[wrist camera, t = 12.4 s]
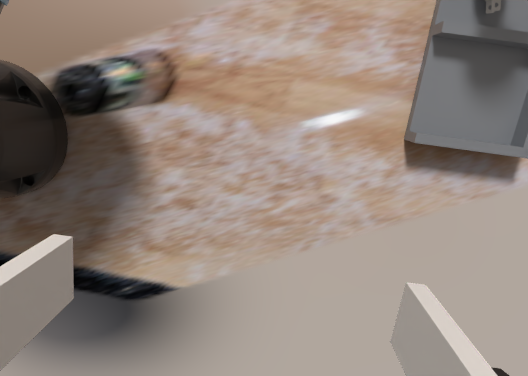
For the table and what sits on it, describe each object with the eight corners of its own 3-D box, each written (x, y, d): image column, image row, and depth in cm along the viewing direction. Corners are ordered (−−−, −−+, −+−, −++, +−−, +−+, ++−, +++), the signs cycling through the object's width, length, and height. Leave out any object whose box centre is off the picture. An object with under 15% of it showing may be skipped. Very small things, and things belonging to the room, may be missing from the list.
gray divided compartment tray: (404, 139, 38) (414, 142, 35) (458, -94, 33) (476, -113, 30) (515, 154, 38) (534, 159, 35) (588, -76, 32) (619, -93, 30)
